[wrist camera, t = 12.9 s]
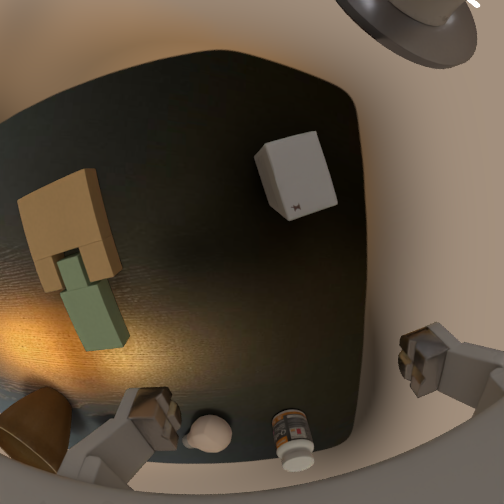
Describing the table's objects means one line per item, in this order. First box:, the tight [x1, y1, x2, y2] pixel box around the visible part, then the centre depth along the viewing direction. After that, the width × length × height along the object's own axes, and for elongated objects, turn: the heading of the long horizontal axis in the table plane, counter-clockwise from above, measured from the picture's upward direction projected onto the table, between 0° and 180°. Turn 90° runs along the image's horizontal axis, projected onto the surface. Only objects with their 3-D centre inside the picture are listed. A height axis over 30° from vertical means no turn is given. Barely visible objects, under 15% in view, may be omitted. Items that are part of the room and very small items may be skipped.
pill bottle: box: [272, 409, 314, 472], centre depth 37 cm, size 6×6×10 cm
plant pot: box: [0, 387, 72, 474], centre depth 32 cm, size 15×15×16 cm
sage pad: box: [57, 252, 130, 351], centre depth 33 cm, size 13×6×3 cm, turn 12°
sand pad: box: [17, 169, 123, 293], centre depth 31 cm, size 13×12×3 cm
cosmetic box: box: [254, 131, 338, 221], centre depth 26 cm, size 6×4×12 cm
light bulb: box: [182, 415, 232, 452], centre depth 39 cm, size 7×7×11 cm
